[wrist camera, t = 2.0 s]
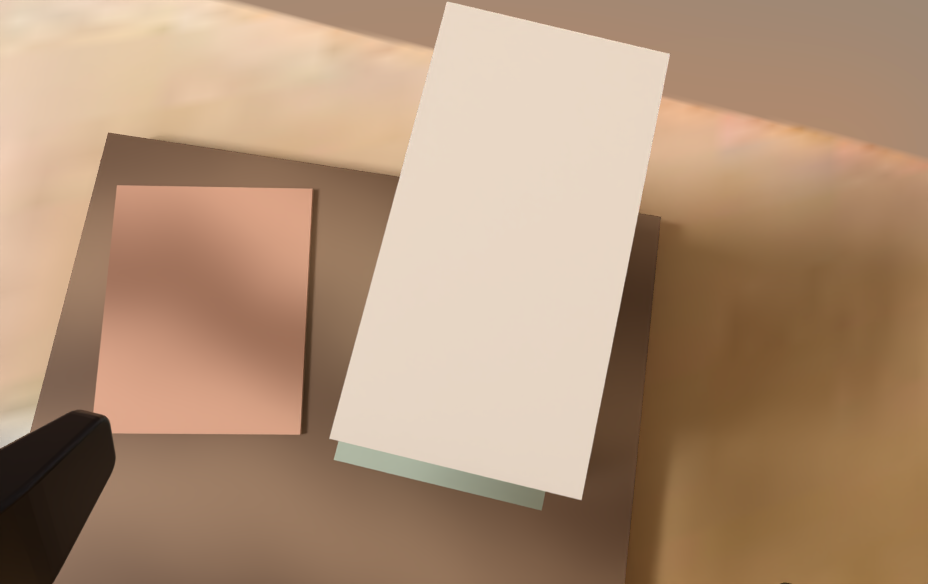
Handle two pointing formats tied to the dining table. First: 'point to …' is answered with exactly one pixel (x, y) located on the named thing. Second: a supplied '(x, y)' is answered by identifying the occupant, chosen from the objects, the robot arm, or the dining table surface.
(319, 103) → the dining table surface
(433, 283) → the tall beige block
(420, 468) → the slot box
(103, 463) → the robot arm
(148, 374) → the walnut board
